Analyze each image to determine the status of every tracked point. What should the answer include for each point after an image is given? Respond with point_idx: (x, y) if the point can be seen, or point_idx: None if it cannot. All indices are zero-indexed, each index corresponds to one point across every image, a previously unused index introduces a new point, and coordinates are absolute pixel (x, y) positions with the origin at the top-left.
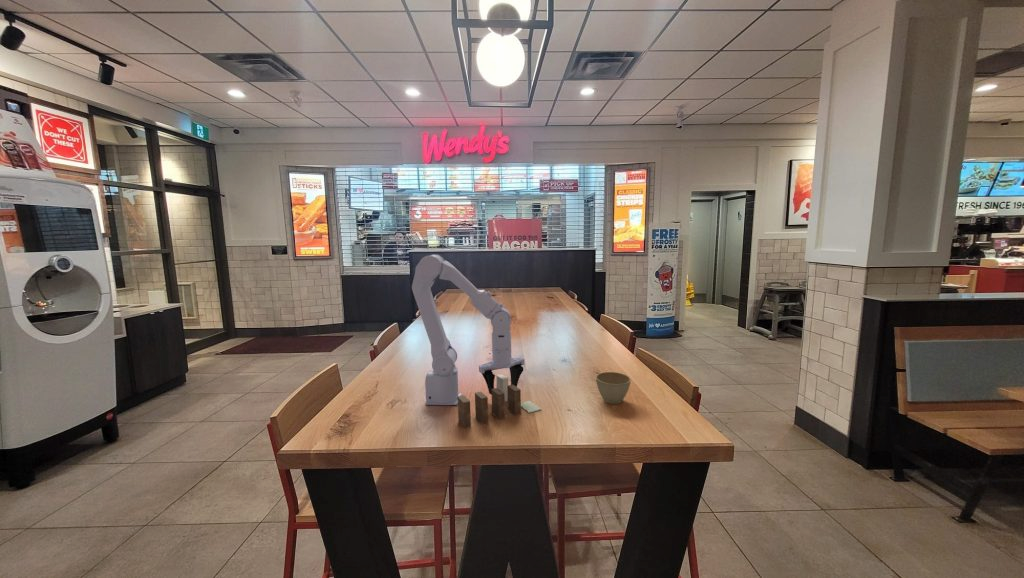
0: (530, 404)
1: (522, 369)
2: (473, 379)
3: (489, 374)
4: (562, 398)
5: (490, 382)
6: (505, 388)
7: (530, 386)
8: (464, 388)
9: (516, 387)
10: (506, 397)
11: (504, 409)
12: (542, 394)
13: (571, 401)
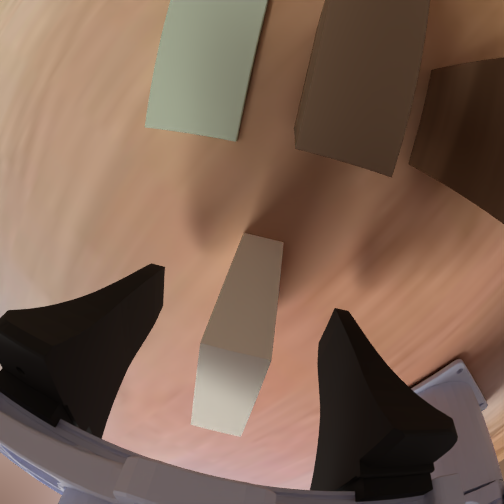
0: (177, 76)
1: (3, 319)
2: (225, 452)
3: (421, 453)
4: (16, 72)
5: (399, 381)
6: (254, 288)
7: (56, 280)
8: (306, 437)
9: (339, 20)
10: (256, 247)
11: (460, 65)
12: (47, 167)
13: (16, 28)
